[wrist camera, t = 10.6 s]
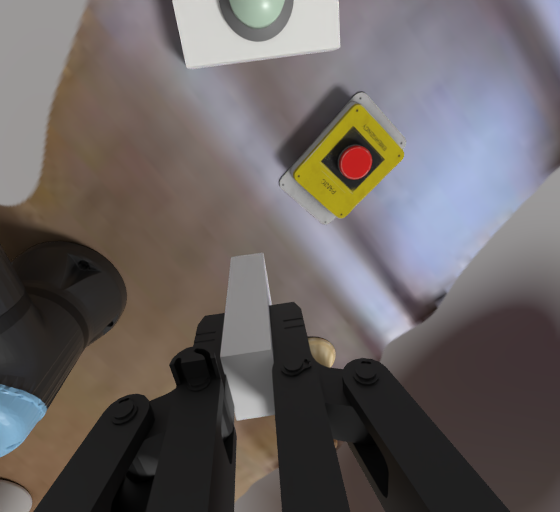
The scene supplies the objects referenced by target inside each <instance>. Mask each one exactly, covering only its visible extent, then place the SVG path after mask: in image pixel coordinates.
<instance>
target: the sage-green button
mask: <svg viewBox="0 0 560 512" xmlns="http://www.w3.org/2000/svg"><path fill="white" fill-rule="evenodd" d="M229 1H230V5H231V8H232V11H233V13H234V14H235V16H236V17H237V19H238V20H239V21H240V22H241V23H242V24H244V25H245V26H247V27H249V28H252V29H263V28H266V27H268V26H270V25H271V24H273V23H274V22H275V21H276V19H277V18H278V16H279V15H280V13H281V10H282V8H283V5H284V2H285V0H229Z"/></svg>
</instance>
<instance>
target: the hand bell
mask: <svg viewBox="0 0 560 512" xmlns="http://www.w3.org/2000/svg"><path fill="white" fill-rule="evenodd" d="M308 341H309V346H310V350H311V354H312V356H313V358H314V359H315V360H316V361H317V362H318V363H320V364H321V365H324V366H326V367H331V366H332V364H333V363H334V360H335V355H336V354H335V349H334V347H333V346H332V344H331V343H330V342H328V341H327V340H325V339H322V338H315V337H313V338H308ZM333 441H334V445H335V448H336V447H337V440H334V439H333Z"/></svg>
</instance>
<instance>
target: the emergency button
mask: <svg viewBox="0 0 560 512" xmlns="http://www.w3.org/2000/svg"><path fill="white" fill-rule="evenodd" d="M405 146H406V139H405V137H404V136H403V135H402V134H401V133H400V132H399V131H398V129H397V128H396V127H395V126H394V125H393V124H392V123H391V121H390V120H389V119H388V118H387V117H386V116H385V115H384V113H383V112H382V111H381V110H380V109H379V108H378V107H377V106H376V104H375V103H374V102H373V101H372V100H371V99H370V98H369V96H368V95H367V94H365V93H363V92H361V93H357V94H356V95H355V96H353V98H352V99H351V100H350V101H349V102H348V103H347V104H346V105H345V107H344V108H343V109H342V110H341V111H340V112H339V113H338V115H337V116H336V117H335V118H334V119H333V120H332V121H331V122H330V124H329V125H328V126H327V127H326V128H325V129H324V130H323V131H322V133H321V134H320V135H319V136H318V137H317V138H316V139H315V140H314V142H313V143H312V144H311V145H310V146H309V147H308V148H307V150H306V151H305V152H304V153H303V154H302V155H301V156H300V157H299V159H298V160H297V161H296V162H295V163H294V164H293V165H292V166H291V168H290V169H289V170H288V171H287V172H286V173H285V174H284V175H283V177H282V178H281V180H280V187H281V189H282V190H283V191H285V192H286V193H287V194H288V195H289V196H290V197H291V198H293V199H294V200H295V201H296V202H297V203H298V204H300V205H301V206H302V207H303V208H304V209H305V210H306V211H308V212H309V213H310V214H311V215H312V216H313V217H314V218H316V219H317V220H318V221H319V222H320V223H321V224H324V225H326V224H329V223H331V222H332V221H333V220H334V219H335V218H336V217H337V218H344V217H346V216H347V215H348V214H349V213H350V212H351V211H352V210H353V209H354V208H355V207H356V206H357V205H358V204H359V203H360V202H361V201H362V200H363V199H364V198H365V197H366V196H367V195H368V194H369V193H370V192H371V191H372V190H373V189H374V188H375V187H376V186H377V185H378V184H379V183H380V182H381V181H382V179H383V178H384V177H385V176H386V175H387V174H388V173H389V172H390V171H391V170H392V169H393V168H394V167H395V166H396V165H397V164H398V163H399V162H400V161H401V160H402V159H403V157H404V152H403V149H404V147H405Z"/></svg>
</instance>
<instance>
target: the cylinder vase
mask: <svg viewBox="0 0 560 512" xmlns="http://www.w3.org/2000/svg"><path fill="white" fill-rule="evenodd" d="M31 506H32V498H31V495H30V494H29V492H28V491H27V490H26V489H24V488H23V487H21V486H20V485H18V484H16V483H13V482H10V481H6V480H0V512H29V511H30V509H31Z"/></svg>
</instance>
